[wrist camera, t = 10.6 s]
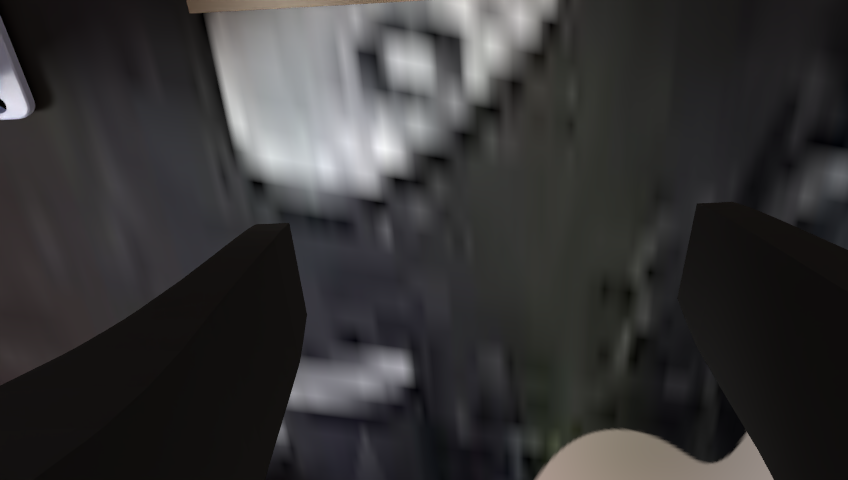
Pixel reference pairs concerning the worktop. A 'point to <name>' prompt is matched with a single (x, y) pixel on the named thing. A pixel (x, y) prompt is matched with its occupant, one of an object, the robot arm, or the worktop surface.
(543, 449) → the worktop surface
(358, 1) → the socket dock
